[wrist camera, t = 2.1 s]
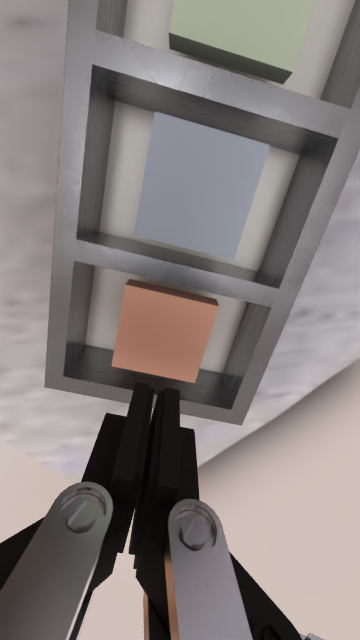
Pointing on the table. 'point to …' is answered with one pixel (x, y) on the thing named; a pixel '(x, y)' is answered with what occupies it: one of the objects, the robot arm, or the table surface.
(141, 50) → the frame
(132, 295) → the key terracotta
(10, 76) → the table surface
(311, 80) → the base
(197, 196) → the key slate
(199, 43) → the key sage
